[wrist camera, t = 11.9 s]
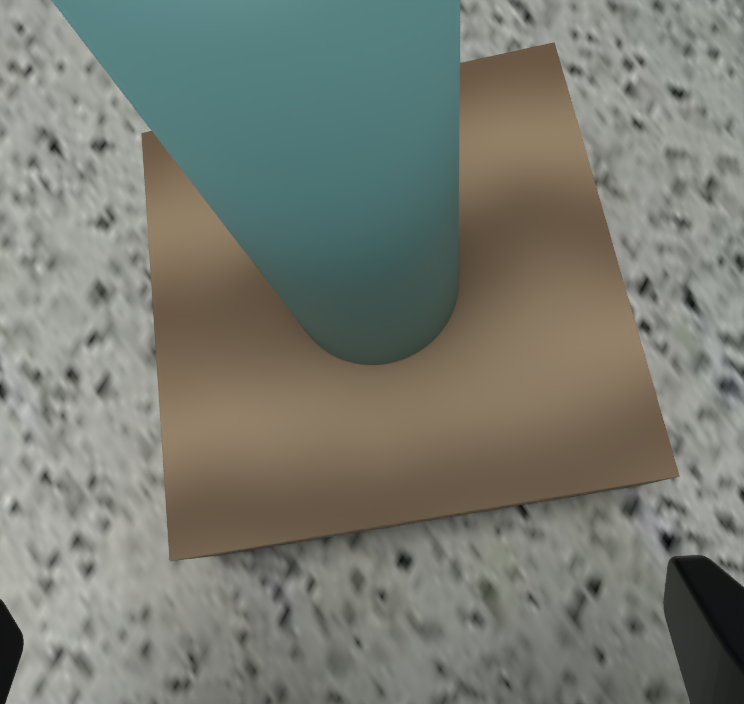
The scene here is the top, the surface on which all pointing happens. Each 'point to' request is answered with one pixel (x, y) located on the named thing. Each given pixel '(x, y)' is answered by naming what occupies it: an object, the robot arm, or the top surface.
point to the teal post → (311, 146)
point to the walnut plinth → (418, 372)
